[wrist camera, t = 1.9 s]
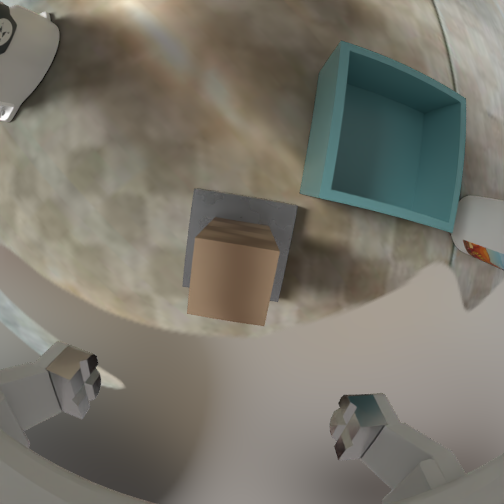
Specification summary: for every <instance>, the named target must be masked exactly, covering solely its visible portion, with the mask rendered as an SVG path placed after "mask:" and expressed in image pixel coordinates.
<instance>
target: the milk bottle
mask: <svg viewBox="0 0 504 504" xmlns="http://www.w3.org/2000/svg"><path fill="white" fill-rule="evenodd" d="M451 236H452V240H453V242H454V244H455V245H456V247H457V248H458V249H459V250H460V251H462V252H464V253H466V254H468V255H470V256H473V257H475V258H477V259H479V260H482V261H484V262H486V263H488V264H491V265H493V266H495V267H497V268H500V269H502V270H504V200H499V199H493V198H487V197H480V196H472V195H469V196H466V197H464V198H462V199H461V200H460V201H459V202H458V208H457V213H456V218H455V223H454V228H453V233H451Z"/></svg>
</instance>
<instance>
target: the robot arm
mask: <svg viewBox="0 0 504 504" xmlns="http://www.w3.org/2000/svg"><path fill="white" fill-rule="evenodd" d="M58 43H59V29H58V27H57V26H56V25H55V24H54V23H52V22H51V20H50V14H49V13H47V12H42V13H40V14H37V13H35V12H33V11H31V10H28V9H26V8H24V7H21V6H19V5H13V6H11V7H8V6H6V5H5V4H4V3H3V2H0V121H4V122H10V121H11V120H12V119H13V117H14V116H15V114H16V112H17V110H18V108H19V107H20V105H21V104H22V102H23V101H24V100H25V99H26V98H27V97H28V96H29V95H30V94H31V93H32V92H33V91H34V89H35V88H36V87H37V86H38V84H39V83H40V81H41V80H42V79H43V77H44V75H45V74H46V72H47V70H48V69H49V67H50V65H51V63H52V61H53V58H54V56H55V54H56V51H57V47H58ZM97 365H98V360H97V356H96V355H95V354H93V353H90V352H87V351H85V350H82V349H80V348H77V347H75V346H72V345H69V344H67V343H64V342H62V341H57V342H56V343H55V344H53V345H52V346H51V347H50V348H49V349H48V350H47V351H46V352H45V353H44V354H43V355H42V356H41V357H40V358H39V359H38V360H37V361H36V362H35V363H34V364H33V363H31V362H30V363H25V364H22V365H18V366H14V367H9V368H5V369H1V370H0V504H155V503H151V502H148V501H144V500H141V499H137V498H134V497H131V496H128V495H125V494H122V493H119V492H116V491H114V490H111V489H108V488H106V487H103V486H101V485H98V484H96V483H93V482H91V481H89V480H86V479H84V478H82V477H80V476H78V475H75V474H74V473H71V472H69V471H67V470H65V469H63V468H61V467H60V466H58V465H55V464H54V463H52V462H50V461H49V460H47V459H45V458H43V457H42V456H40V455H38V454H37V453H35V452H33V451H32V450H30V449H29V446H30V442H29V440H28V438H27V437H26V435H25V433H24V430H27V429H29V428H31V427H33V426H35V425H37V424H39V423H41V422H43V421H45V420H47V419H49V418H51V417H52V416H55V415H57V414H59V413H61V412H62V411H63V412H66V413H68V414H71V415H73V416H75V417H78V418H80V419H83V417H84V416H85V414H86V412H87V411H88V409H89V408H90V404H89V401H90V400H93V399H95V398H96V397H97V395H98V393H99V390H100V387H101V377H100V373H99V372H98V371H97V369H96V367H97ZM338 404H339V407H340V408H339V409H338V410H336V411H334V413H333V415H332V417H331V420H330V433H331V436H332V438H334V439H335V440H336V441H337V442H336V444H335V445H334V448H335V451H336V454H337V458H338V460H351V459H361V461H362V462H363V463H364V464H365V465H366V466H367V467H369V469H371V470H372V471H373V472H374V473H375V474H376V475H377V476H378V477H379V478H380V479H381V480H382V481H383V482H384V483H386V484H387V485H388V486H389V487H390V488H391V489H392V491H391V492H390V493H389V494H388V495H386V496H385V497H384V499H383V500H382V502H383V504H504V453H503V454H502V455H500V456H498V457H497V458H495V459H494V460H492V461H490V462H488V463H487V464H485V465H483V466H481V467H479V468H477V469H475V470H473V471H472V472H470V473H467V474H465V472H464V470H463V469H462V467H461V465H460V463H459V462H458V460H457V458H456V457H455V455H454V453H453V452H452V450H450V449H448V448H446V447H444V446H443V445H441V444H439V443H437V442H435V441H434V440H432V439H431V438H429V437H427V436H426V435H424V434H422V433H420V432H419V431H417V430H415V429H414V428H412V427H411V426H409V425H408V424H406V423H401V422H400V420H399V418H398V416H397V415H396V413H395V411H394V409H393V407H392V405H391V404H390V402H389V400H388V399H387V397H386V395H385V394H383V393H377V394H361V395H343V396H342V397H341V399H340V401H339V403H338Z"/></svg>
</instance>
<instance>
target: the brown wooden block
mask: <svg viewBox="0 0 504 504" xmlns="http://www.w3.org/2000/svg"><path fill="white" fill-rule="evenodd" d="M279 253H280V251H279V248H278V246H277V244H276V241H275V239H274V237H273V234H272V232H271V230H270V228H269V226H266V225H260V224H254V223H248V222H242V221H236V220H230V219H224V218H218V217H215V218H214V219H213V220H212V221H211V222H210V223H209V224H208V225H207V226H206V227H205V228H204V229H203V230H202V231H201V232H200V233H199V234H198V235H197V236H196V237H195V243H194V251H193V259H192V268H191V278H190V288H189V298H188V309H187V314H192V315H197V316H203V317H209V318H215V319H221V320H227V321H233V322H239V323H246V324H253V325H260V326H264V325H265V320H266V315H267V311H268V306H269V302H270V297H271V292H272V287H273V283H274V278H275V273H276V268H277V263H278V258H279Z"/></svg>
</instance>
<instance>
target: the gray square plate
mask: <svg viewBox="0 0 504 504" xmlns="http://www.w3.org/2000/svg"><path fill="white" fill-rule="evenodd" d="M297 208H298V206H297V205H294V204H289V203H284V202H278V201H273V200H267V199H262V198H256V197H250V196H244V195H238V194H232V193H225V192H219V191H212V190H205V189H198V188H196V189H194V194H193V201H192V208H191V215H190V223H189V231H188V239H187V248H186V257H185V266H184V276H183V287H189V288H190V278H191V268H192V259H193V251H194V243H195V237H196V236H197V235H198V234H199V233H200V232H201V231H202V230H203V229H204V228H205V227H206V226H207V225H208V224H209V223H210V222H211V221H212V220H213V219H214V218H215V217H218V218H224V219H230V220H236V221H242V222H248V223H254V224H260V225H266V226H269V228H270V230H271V232H272V234H273V237H274V239H275V241H276V244H277V246H278V248H279V251H280V253H279V258H278V263H277V268H276V273H275V278H274V283H273V287H272V292H271V297H270V301H275V302H278V299H279V295H280V290H281V286H282V281H283V277H284V272H285V267H286V263H287V258H288V253H289V248H290V243H291V238H292V234H293V228H294V223H295V218H296V213H297Z"/></svg>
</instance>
